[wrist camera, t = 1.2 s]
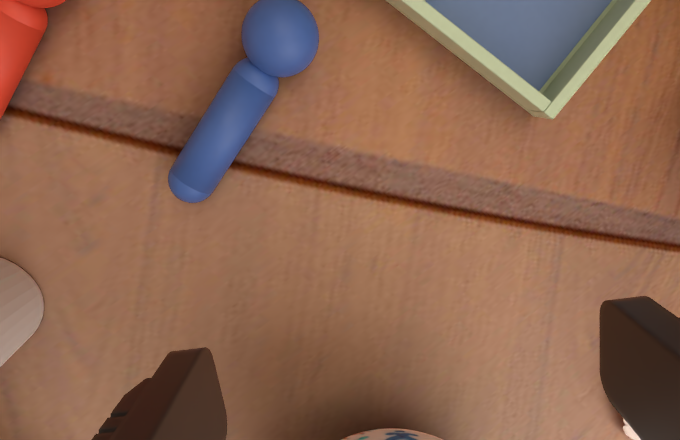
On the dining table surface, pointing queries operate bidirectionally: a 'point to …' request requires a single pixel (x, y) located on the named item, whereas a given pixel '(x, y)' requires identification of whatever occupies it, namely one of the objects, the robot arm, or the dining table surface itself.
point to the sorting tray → (527, 41)
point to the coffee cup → (17, 308)
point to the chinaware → (391, 435)
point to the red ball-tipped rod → (19, 40)
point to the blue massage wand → (245, 94)
